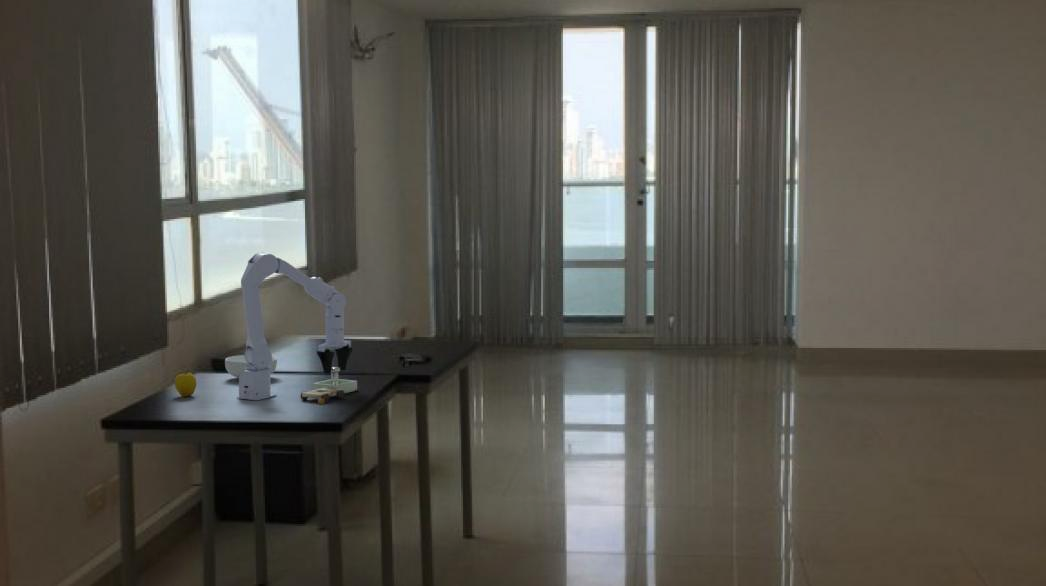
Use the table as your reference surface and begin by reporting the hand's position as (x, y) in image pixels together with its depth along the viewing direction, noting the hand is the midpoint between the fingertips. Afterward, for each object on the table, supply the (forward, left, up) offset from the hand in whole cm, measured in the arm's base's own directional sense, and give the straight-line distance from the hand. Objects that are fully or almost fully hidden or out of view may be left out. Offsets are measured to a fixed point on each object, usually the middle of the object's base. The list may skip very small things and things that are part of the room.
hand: (334, 371), depth 371 cm
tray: (0, 0, -6) cm, 6 cm away
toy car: (-13, -5, -6) cm, 15 cm away
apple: (-30, +34, -7) cm, 46 cm away
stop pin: (0, 0, -6) cm, 6 cm away
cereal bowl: (+6, +39, -7) cm, 40 cm away
